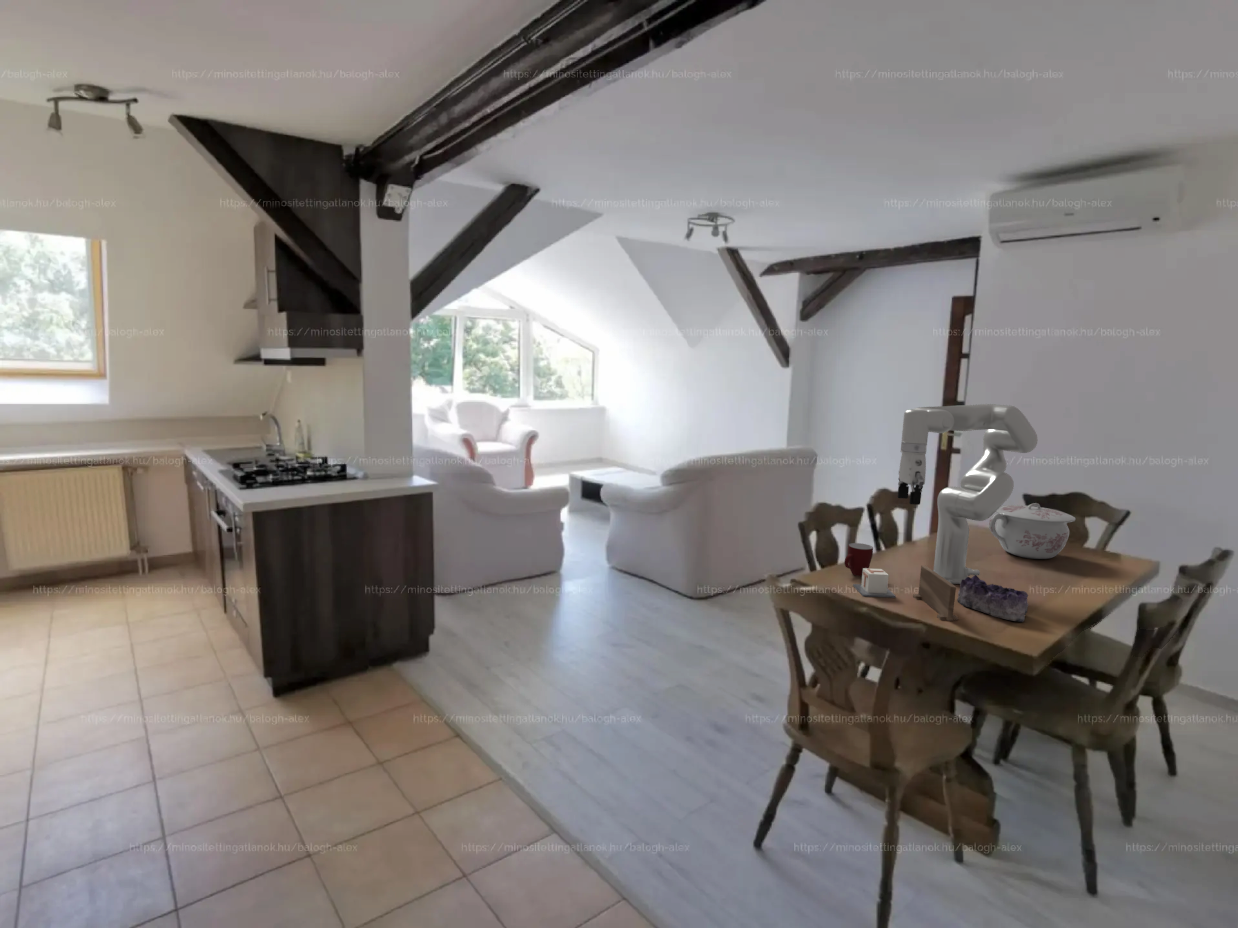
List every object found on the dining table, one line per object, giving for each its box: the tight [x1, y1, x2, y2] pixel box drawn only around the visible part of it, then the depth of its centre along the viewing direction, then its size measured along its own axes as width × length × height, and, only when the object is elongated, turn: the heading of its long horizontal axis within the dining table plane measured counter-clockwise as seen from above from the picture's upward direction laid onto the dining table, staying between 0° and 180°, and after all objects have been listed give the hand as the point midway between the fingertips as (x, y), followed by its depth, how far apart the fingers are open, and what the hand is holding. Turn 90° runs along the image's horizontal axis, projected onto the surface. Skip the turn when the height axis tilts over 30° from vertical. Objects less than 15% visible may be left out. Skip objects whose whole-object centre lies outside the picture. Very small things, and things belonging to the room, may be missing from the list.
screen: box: [912, 565, 959, 622], centre depth 199 cm, size 5×20×10 cm, turn 178°
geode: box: [956, 575, 1029, 623], centre depth 199 cm, size 20×12×10 cm, turn 39°
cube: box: [861, 567, 890, 593], centre depth 213 cm, size 6×6×6 cm
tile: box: [852, 583, 896, 598], centre depth 213 cm, size 10×10×1 cm
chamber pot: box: [988, 502, 1076, 560], centre depth 262 cm, size 28×28×21 cm
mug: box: [844, 542, 874, 577], centre depth 230 cm, size 11×8×10 cm
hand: (908, 501), depth 216 cm, fingers open, 9 cm apart
